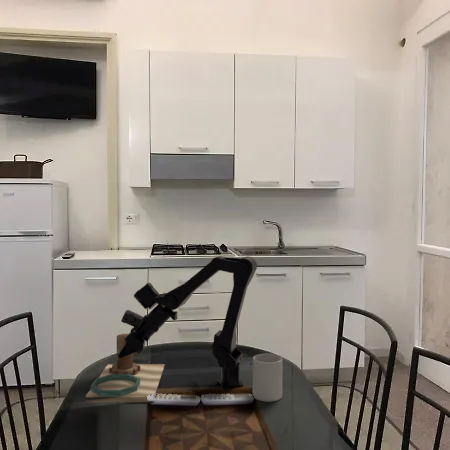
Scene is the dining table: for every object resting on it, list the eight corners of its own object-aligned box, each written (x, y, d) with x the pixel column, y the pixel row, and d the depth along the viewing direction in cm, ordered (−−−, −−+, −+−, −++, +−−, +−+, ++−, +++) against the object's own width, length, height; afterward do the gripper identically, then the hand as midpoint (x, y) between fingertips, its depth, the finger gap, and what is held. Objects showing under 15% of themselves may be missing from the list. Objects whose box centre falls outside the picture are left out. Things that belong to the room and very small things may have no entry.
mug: (284, 401, 130) (284, 362, 129) (253, 402, 129) (254, 363, 129) (277, 385, 142) (278, 349, 141) (250, 385, 141) (250, 349, 141)
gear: (141, 375, 145) (141, 338, 145) (109, 378, 143) (109, 341, 142) (138, 365, 155) (138, 331, 154) (108, 368, 152) (108, 333, 152)
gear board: (154, 402, 129) (154, 391, 129) (85, 402, 129) (85, 391, 129) (164, 368, 156) (164, 359, 156) (107, 368, 156) (107, 359, 156)
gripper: (141, 296, 157) (108, 329, 158) (131, 308, 139) (94, 345, 139) (165, 319, 158) (132, 352, 158) (158, 334, 139) (121, 371, 139)
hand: (120, 354), depth 149 cm, fingers closed on gear, 5 cm apart
